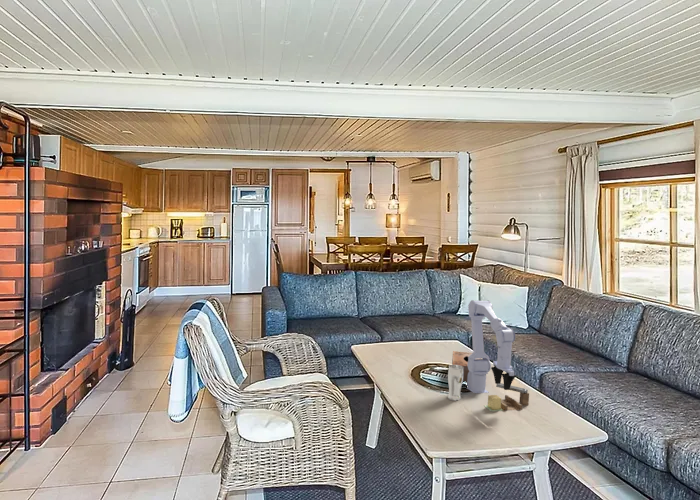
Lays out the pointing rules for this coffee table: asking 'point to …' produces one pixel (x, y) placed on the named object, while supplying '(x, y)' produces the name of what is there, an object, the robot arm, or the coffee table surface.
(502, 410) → the pad
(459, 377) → the beer glass
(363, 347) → the coffee table surface
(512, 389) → the lever
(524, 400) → the body
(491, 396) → the tan cube
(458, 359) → the tissue box cover
